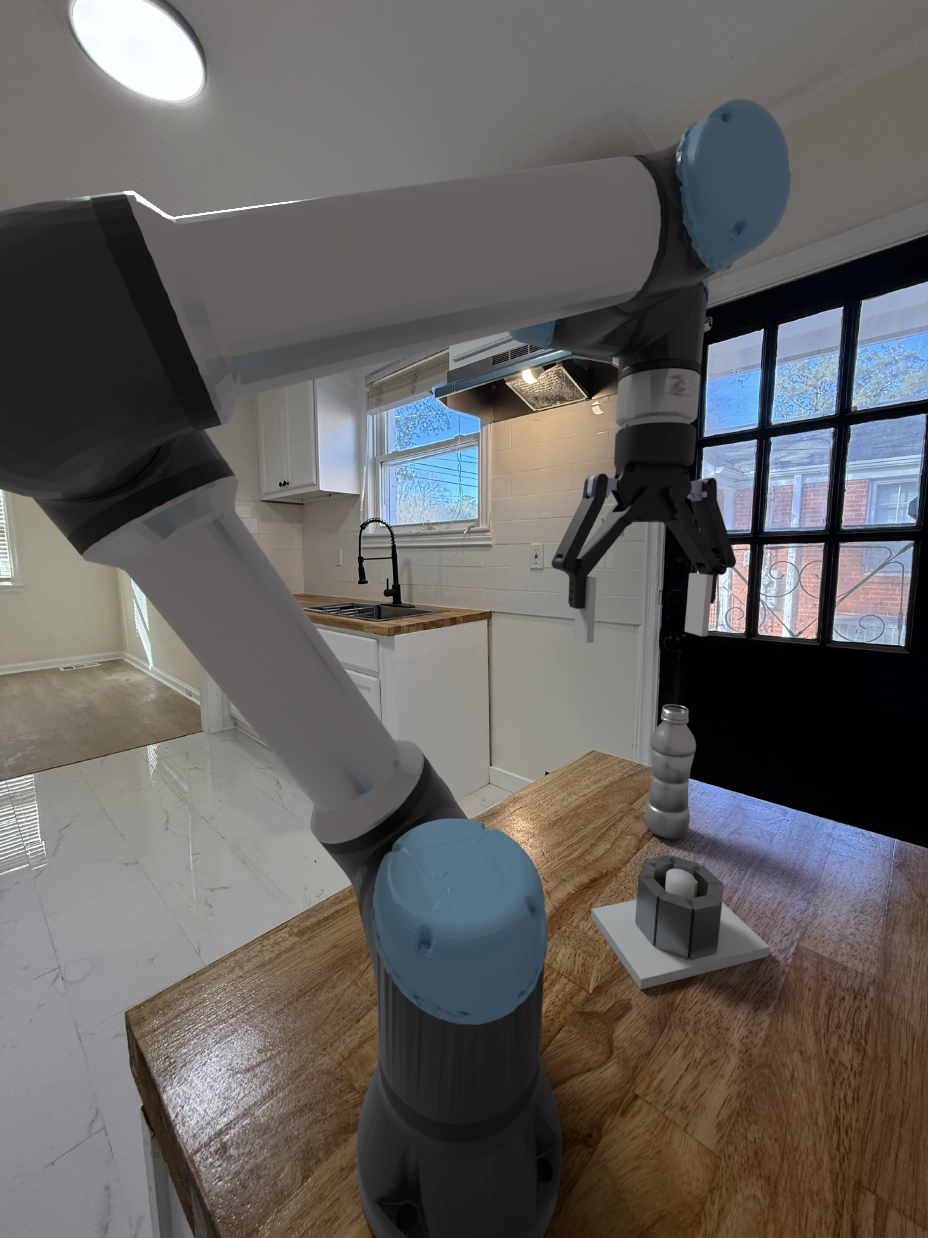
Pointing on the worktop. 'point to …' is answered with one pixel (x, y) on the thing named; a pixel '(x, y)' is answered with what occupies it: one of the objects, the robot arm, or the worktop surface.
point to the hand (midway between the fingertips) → (641, 637)
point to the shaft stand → (664, 967)
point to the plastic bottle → (670, 774)
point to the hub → (679, 909)
